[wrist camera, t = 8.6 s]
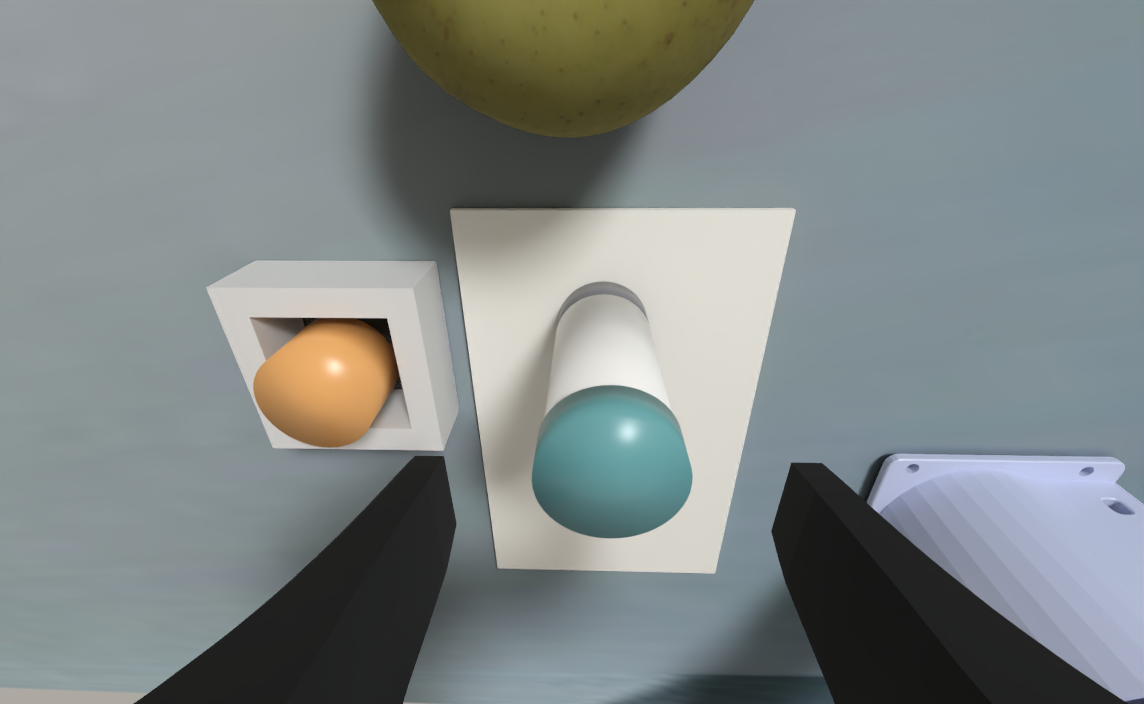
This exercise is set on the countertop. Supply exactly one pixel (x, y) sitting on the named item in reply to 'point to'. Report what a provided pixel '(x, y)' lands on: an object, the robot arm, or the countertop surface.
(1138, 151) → the countertop surface
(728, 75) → the countertop surface
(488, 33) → the apple
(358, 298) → the button housing
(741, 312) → the paper
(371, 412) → the button
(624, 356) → the marker
